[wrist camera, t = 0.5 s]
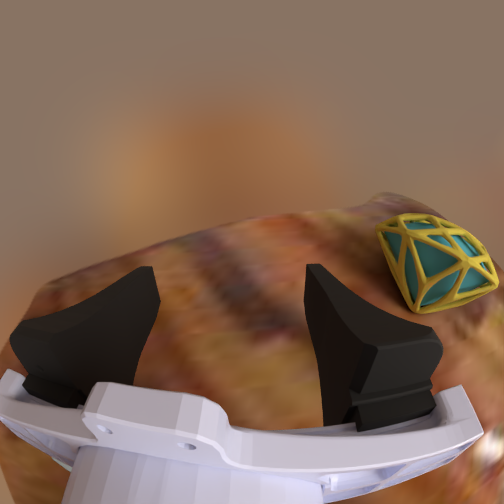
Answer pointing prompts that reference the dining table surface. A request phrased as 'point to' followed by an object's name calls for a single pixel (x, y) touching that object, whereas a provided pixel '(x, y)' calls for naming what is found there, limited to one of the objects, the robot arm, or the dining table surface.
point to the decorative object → (435, 262)
